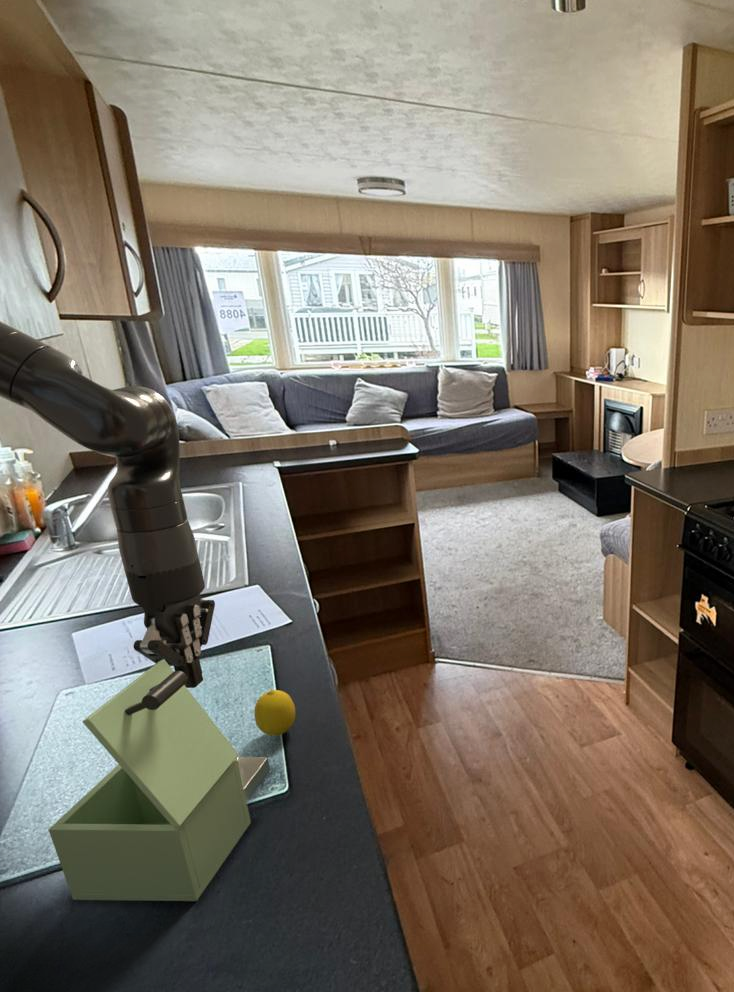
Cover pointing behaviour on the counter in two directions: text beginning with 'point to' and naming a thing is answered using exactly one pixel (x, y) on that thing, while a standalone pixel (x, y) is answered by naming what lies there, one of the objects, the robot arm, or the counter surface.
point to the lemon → (274, 712)
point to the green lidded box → (147, 841)
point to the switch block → (252, 773)
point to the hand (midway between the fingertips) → (191, 684)
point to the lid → (163, 741)
